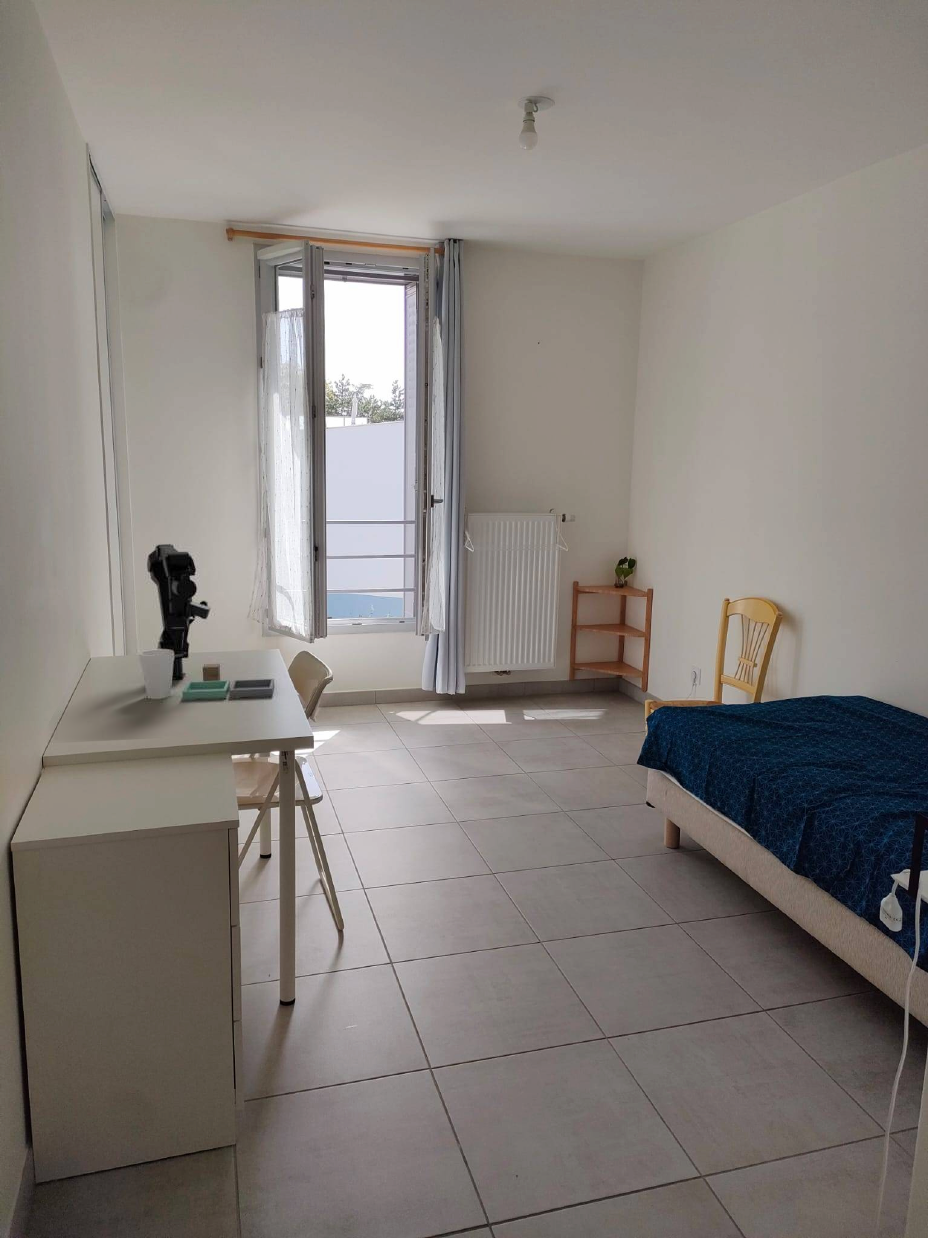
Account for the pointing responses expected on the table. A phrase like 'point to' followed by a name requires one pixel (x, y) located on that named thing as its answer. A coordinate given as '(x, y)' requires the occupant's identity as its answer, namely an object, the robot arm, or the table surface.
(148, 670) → the foam cup
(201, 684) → the tray
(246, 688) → the tray
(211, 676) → the walnut block
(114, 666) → the table surface
